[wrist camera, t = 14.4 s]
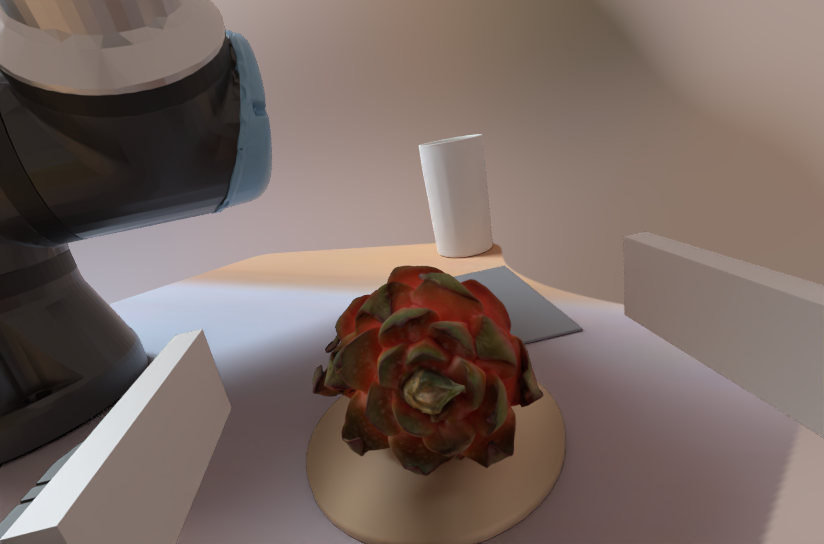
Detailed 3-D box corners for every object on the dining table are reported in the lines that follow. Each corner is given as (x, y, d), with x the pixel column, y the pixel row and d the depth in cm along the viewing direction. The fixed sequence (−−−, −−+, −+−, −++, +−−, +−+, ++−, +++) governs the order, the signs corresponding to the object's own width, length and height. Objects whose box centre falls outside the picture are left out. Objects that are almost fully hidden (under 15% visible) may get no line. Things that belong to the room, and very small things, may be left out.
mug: (508, 246, 46) (496, 132, 43) (455, 263, 44) (437, 144, 40) (459, 233, 55) (445, 137, 51) (413, 246, 53) (395, 147, 49)
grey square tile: (366, 381, 26) (365, 378, 26) (359, 299, 39) (358, 297, 39) (582, 330, 27) (582, 327, 27) (504, 267, 40) (504, 265, 40)
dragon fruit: (511, 583, 14) (390, 430, 25) (636, 372, 16) (470, 314, 27) (309, 474, 11) (272, 354, 22) (486, 226, 13) (369, 228, 24)
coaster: (295, 594, 14) (291, 581, 14) (317, 392, 26) (314, 384, 25) (627, 502, 15) (627, 489, 15) (507, 347, 27) (506, 339, 26)
